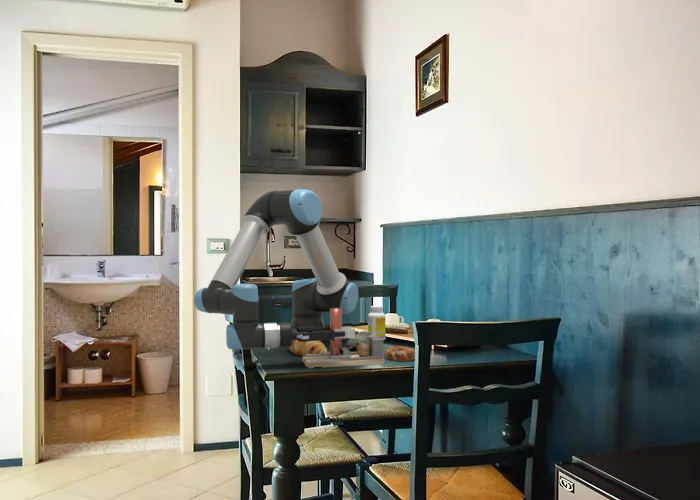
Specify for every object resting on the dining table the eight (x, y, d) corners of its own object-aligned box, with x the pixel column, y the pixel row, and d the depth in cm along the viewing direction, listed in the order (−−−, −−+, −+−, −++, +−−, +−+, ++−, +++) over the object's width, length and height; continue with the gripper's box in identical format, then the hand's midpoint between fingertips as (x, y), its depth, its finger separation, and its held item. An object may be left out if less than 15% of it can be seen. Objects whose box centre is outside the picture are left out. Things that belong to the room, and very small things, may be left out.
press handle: (327, 355, 189) (327, 307, 189) (345, 354, 191) (345, 307, 190) (332, 359, 182) (332, 310, 182) (351, 358, 184) (351, 309, 183)
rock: (357, 354, 200) (357, 335, 200) (338, 351, 206) (338, 332, 206) (383, 349, 210) (382, 330, 210) (364, 346, 215) (364, 328, 215)
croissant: (333, 368, 195) (342, 345, 197) (311, 357, 189) (321, 334, 191) (294, 357, 211) (303, 336, 213) (273, 346, 205) (283, 325, 207)
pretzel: (375, 357, 196) (375, 346, 196) (401, 353, 202) (401, 343, 202) (399, 364, 186) (399, 352, 186) (425, 360, 193) (425, 348, 193)
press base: (302, 361, 189) (302, 337, 189) (375, 357, 195) (375, 334, 194) (308, 368, 179) (308, 343, 179) (384, 364, 185) (384, 339, 185)
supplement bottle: (388, 339, 229) (388, 305, 229) (381, 342, 224) (381, 307, 223) (372, 337, 232) (372, 304, 232) (365, 340, 227) (365, 306, 226)
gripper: (274, 342, 190) (346, 339, 195) (281, 352, 174) (359, 348, 179) (274, 319, 190) (346, 316, 195) (281, 326, 173) (359, 323, 179)
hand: (352, 332), depth 187 cm, fingers closed on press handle, 4 cm apart
